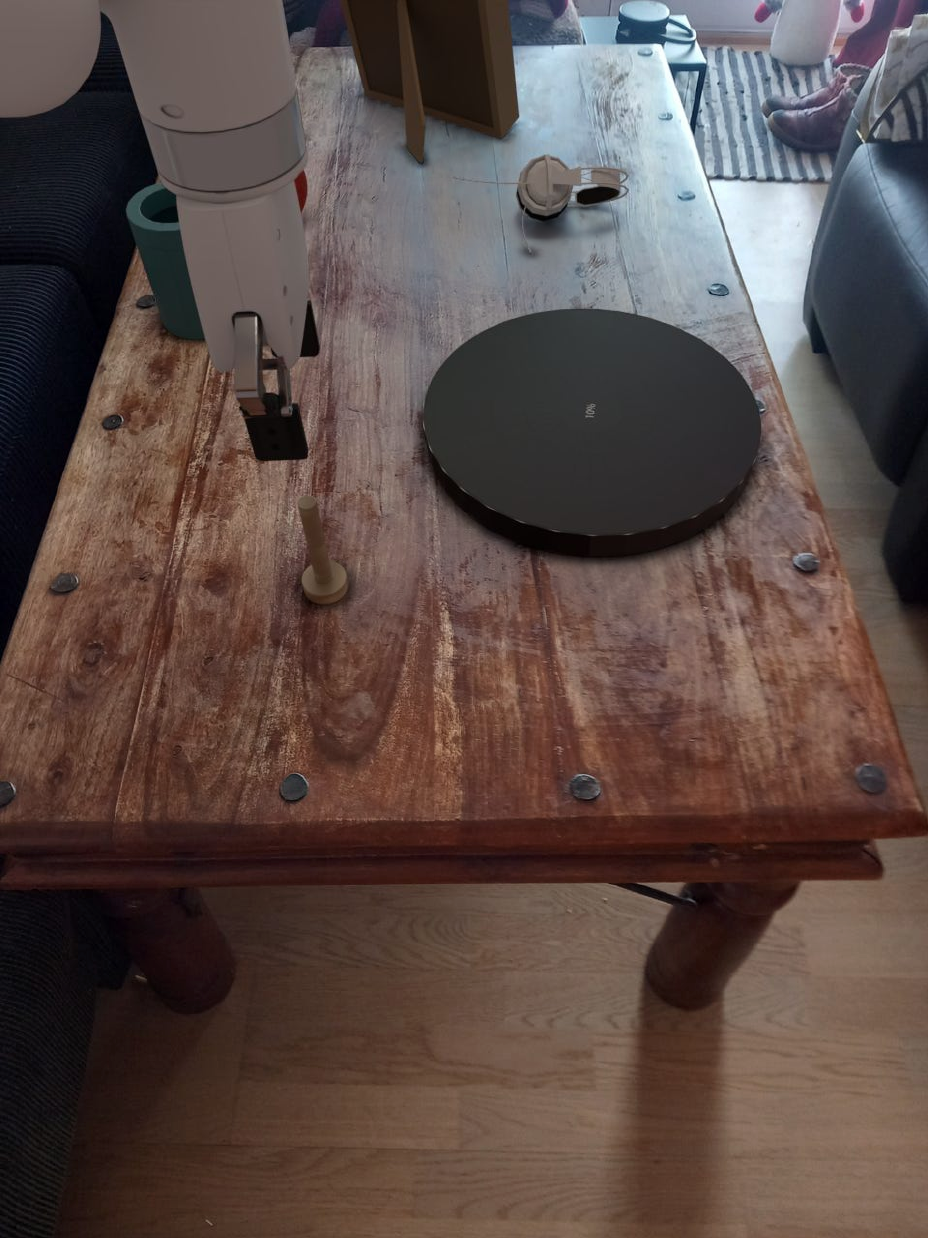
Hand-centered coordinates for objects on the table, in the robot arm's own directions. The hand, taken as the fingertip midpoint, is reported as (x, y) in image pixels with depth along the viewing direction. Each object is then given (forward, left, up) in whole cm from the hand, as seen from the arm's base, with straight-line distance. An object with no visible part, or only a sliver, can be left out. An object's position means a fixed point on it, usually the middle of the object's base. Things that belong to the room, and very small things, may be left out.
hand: (290, 403), depth 59 cm
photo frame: (+7, +75, -19) cm, 78 cm away
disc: (+23, +17, -19) cm, 34 cm away
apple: (-9, +53, -19) cm, 57 cm away
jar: (-15, +37, -19) cm, 44 cm away
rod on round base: (0, 0, -19) cm, 19 cm away
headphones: (+21, +51, -19) cm, 58 cm away
